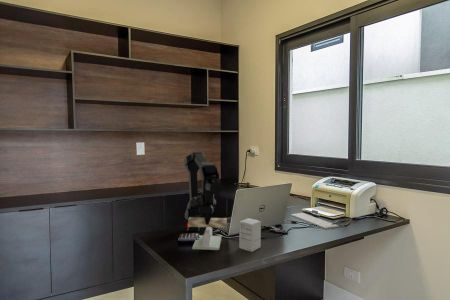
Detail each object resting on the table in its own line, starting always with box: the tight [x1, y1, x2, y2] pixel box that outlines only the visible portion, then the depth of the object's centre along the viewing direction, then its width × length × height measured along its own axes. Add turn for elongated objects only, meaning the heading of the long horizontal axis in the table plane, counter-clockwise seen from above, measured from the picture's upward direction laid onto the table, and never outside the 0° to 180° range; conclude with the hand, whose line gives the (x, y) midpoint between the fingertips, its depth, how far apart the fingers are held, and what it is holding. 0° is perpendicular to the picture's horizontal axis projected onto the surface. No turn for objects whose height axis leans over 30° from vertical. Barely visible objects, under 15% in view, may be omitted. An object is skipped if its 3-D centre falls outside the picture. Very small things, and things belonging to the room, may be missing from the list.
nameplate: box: [268, 226, 289, 235], centre depth 176 cm, size 27×2×10 cm
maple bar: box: [187, 217, 228, 229], centre depth 149 cm, size 18×4×4 cm, turn 88°
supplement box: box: [238, 217, 262, 253], centre depth 144 cm, size 7×7×13 cm
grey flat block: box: [290, 212, 340, 230], centre depth 190 cm, size 31×3×12 cm
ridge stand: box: [191, 227, 222, 251], centre depth 149 cm, size 16×12×6 cm
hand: (207, 223), depth 149 cm, fingers closed on maple bar, 3 cm apart
